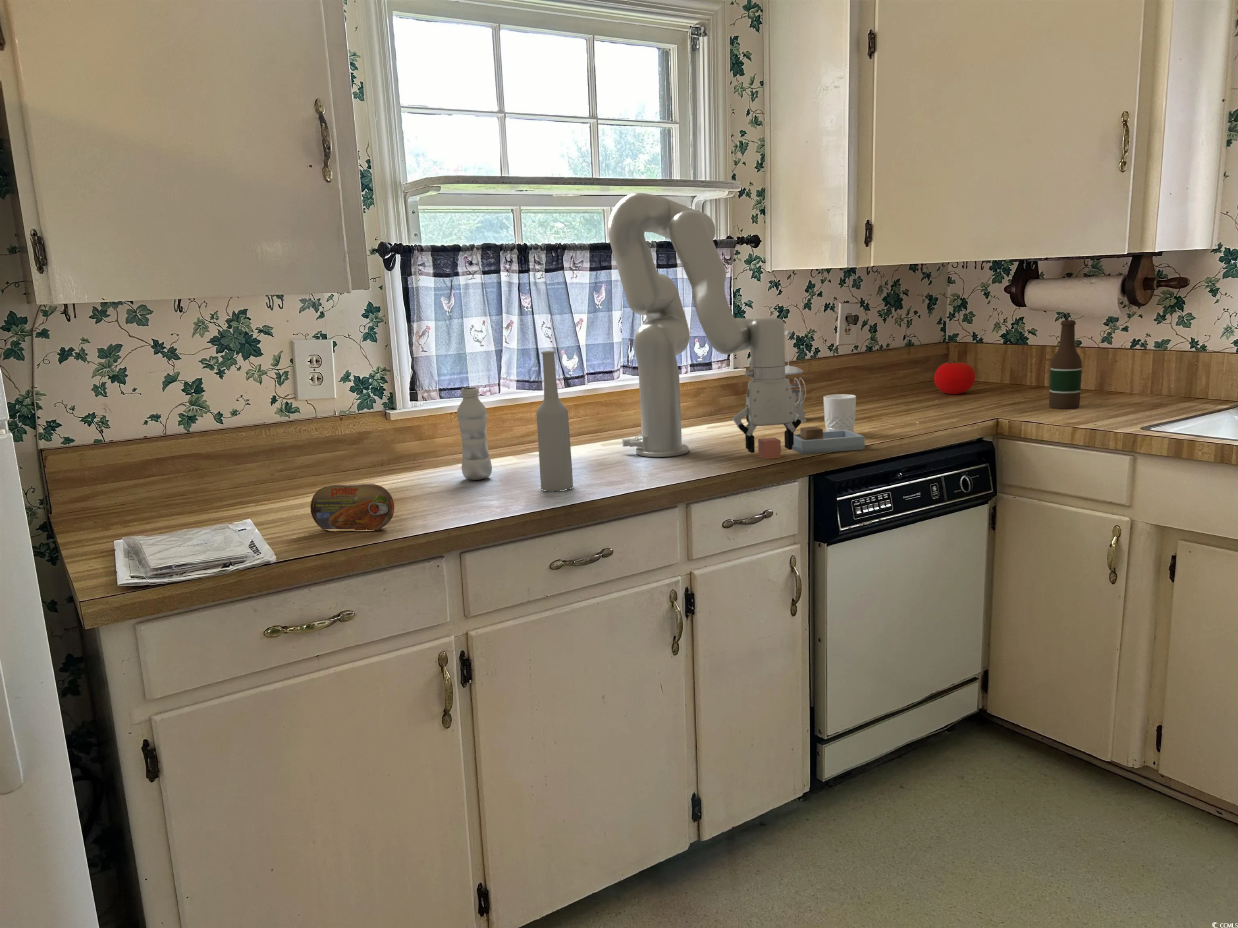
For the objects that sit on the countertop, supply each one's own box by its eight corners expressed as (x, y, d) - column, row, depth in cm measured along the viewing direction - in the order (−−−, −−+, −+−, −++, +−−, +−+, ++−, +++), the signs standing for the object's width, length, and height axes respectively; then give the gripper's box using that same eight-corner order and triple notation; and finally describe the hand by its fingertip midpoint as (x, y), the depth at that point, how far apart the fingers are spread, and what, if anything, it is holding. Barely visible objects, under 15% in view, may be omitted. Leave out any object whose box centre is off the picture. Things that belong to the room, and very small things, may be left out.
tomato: (930, 392, 295) (931, 359, 292) (969, 390, 293) (970, 358, 291) (938, 396, 284) (939, 363, 281) (979, 395, 282) (980, 361, 280)
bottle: (552, 493, 182) (542, 353, 176) (535, 488, 187) (525, 352, 181) (579, 487, 185) (571, 350, 180) (562, 482, 191) (553, 349, 185)
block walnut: (806, 447, 210) (806, 430, 209) (800, 444, 214) (800, 427, 213) (823, 446, 210) (822, 429, 210) (816, 443, 214) (816, 426, 213)
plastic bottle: (479, 483, 194) (472, 390, 190) (456, 481, 197) (447, 389, 193) (499, 477, 199) (492, 386, 195) (475, 475, 203) (468, 386, 199)
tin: (312, 532, 162) (306, 486, 160) (320, 527, 165) (315, 482, 163) (391, 532, 159) (386, 485, 158) (398, 527, 162) (394, 481, 161)
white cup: (856, 438, 223) (856, 398, 221) (823, 439, 224) (823, 399, 222) (855, 433, 230) (855, 393, 228) (823, 433, 232) (823, 394, 230)
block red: (763, 458, 205) (763, 441, 204) (758, 455, 209) (758, 438, 208) (780, 457, 205) (780, 440, 205) (775, 454, 209) (774, 437, 209)
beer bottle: (1081, 405, 253) (1085, 319, 249) (1077, 410, 247) (1082, 321, 242) (1050, 405, 258) (1054, 319, 253) (1046, 409, 251) (1050, 321, 246)
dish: (802, 454, 207) (802, 441, 207) (787, 446, 217) (787, 434, 216) (864, 449, 209) (864, 436, 209) (846, 441, 219) (846, 429, 219)
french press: (792, 416, 260) (792, 328, 255) (818, 421, 250) (817, 330, 245) (764, 420, 256) (762, 331, 251) (788, 425, 246) (787, 332, 241)
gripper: (735, 378, 198) (737, 456, 202) (811, 373, 201) (812, 450, 204) (726, 375, 206) (728, 450, 209) (799, 370, 208) (800, 444, 212)
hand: (769, 450), depth 207 cm, fingers open, 8 cm apart
